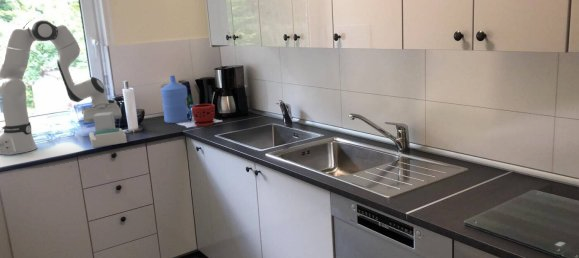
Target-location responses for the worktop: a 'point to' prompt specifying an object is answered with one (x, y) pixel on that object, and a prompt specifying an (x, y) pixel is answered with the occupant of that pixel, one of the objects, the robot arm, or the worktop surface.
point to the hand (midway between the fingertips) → (104, 125)
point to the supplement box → (104, 121)
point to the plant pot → (203, 114)
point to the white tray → (108, 138)
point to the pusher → (107, 131)
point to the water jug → (174, 102)
